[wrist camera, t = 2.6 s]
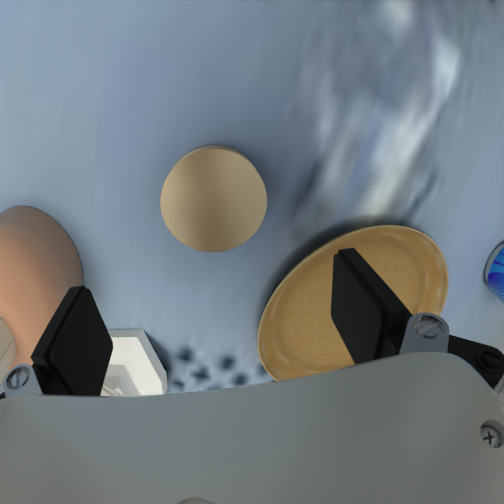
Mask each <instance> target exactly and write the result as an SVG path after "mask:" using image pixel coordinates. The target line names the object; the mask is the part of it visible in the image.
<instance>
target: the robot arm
mask: <svg viewBox="0 0 504 504" xmlns="http://www.w3.org/2000/svg"><path fill="white" fill-rule="evenodd" d="M331 318H332V321H333V323H334V325H335V327H336V328H337V330H338V332H339V334H340V336H341V338H342V340H343V342H344V344H345V346H346V348H347V350H348V352H349V354H350V356H351V357H352V359H353V361H354V363H355V365H351V366H347V367H343V368H339V369H334V370H330V371H325V372H321V373H316V374H311V375H306V376H301V377H296V378H291V379H285V380H280V381H274V382H268V383H262V384H255V385H248V386H241V387H234V388H226V389H217V390H208V391H198V392H187V393H174V394H157V395H134V396H100V395H101V391H102V387H103V383H104V379H105V376H106V372H107V369H108V365H109V362H110V358H111V355H112V351H113V342H112V339H111V337H110V335H109V333H108V331H107V328H106V326H105V324H104V322H103V319H102V317H101V315H100V313H99V310H98V308H97V306H96V303H95V301H94V298H93V296H92V293H91V291H90V290H89V289H86V287H85V286H75V287H70V288H69V290H68V292H67V293H66V295H65V296H64V298H63V300H62V301H61V303H60V305H59V306H58V308H57V310H56V311H55V313H54V315H53V316H52V318H51V320H50V322H49V323H48V325H47V327H46V329H45V330H44V332H43V334H42V336H41V338H40V340H39V341H38V343H37V345H36V347H35V349H34V351H33V353H32V355H31V357H30V358H31V359H32V361H33V365H32V366H31V365H29V364H25V363H23V364H19V365H16V366H14V367H13V368H12V369H10V370H9V372H8V373H7V374H6V376H5V377H4V381H3V388H4V392H3V393H2V394H1V395H0V504H504V355H503V354H502V352H501V351H499V350H498V349H496V348H494V347H492V346H488V345H484V344H481V343H477V342H474V341H470V340H466V339H463V338H459V337H456V336H452V335H449V326H448V324H447V322H446V321H445V320H444V319H443V318H441V317H439V316H438V315H435V314H432V313H426V312H424V313H418V314H415V315H412V313H411V312H410V311H409V310H408V309H407V307H406V306H405V305H404V304H403V303H402V301H401V300H400V299H399V298H398V297H397V296H396V294H395V293H394V292H393V291H392V290H391V289H390V287H389V286H388V285H387V284H386V283H385V282H384V280H383V279H382V278H381V277H380V276H379V275H378V274H377V273H376V272H375V270H374V269H373V268H372V267H371V266H370V265H369V264H368V263H367V261H366V260H365V259H364V258H363V257H362V256H361V255H360V254H359V253H358V252H357V250H356V249H355V248H346V249H340V250H338V254H334V257H333V278H332V296H331Z"/></svg>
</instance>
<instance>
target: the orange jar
mask: <svg viewBox="0 0 504 504" xmlns="http://www.w3.org/2000/svg"><path fill="white" fill-rule="evenodd" d="M75 286H82V267H81V262H80V258H79V255H78V252H77V250H76V248H75V246H74V244H73V242H72V240H71V239H70V237H69V236H68V234H67V233H66V231H65V230H64V229H63V228H62V227H61V226H60V225H59V224H58V223H57V222H56V221H55V220H54V219H53V218H52V217H50V216H49V215H47V214H46V213H44V212H43V211H40V210H38V209H36V208H33V207H28V206H16V207H12V208H9V209H7V210H6V211H4V212H3V213H1V214H0V385H1V383H2V381H3V379H4V377H5V376H6V374H7V373H8V372H9V370H10V369H12V368H13V367H14V366H16V365H19V364H23V363H25V364H29V365H31V366H32V365H33V361H32V359H31V358H30V357H31V355H32V353H33V351H34V349H35V347H36V345H37V343H38V341H39V340H40V338H41V336H42V334H43V332H44V330H45V329H46V327H47V325H48V323H49V322H50V320H51V318H52V316H53V315H54V313H55V311H56V310H57V308H58V306H59V305H60V303H61V301H62V300H63V298H64V296H65V295H66V293H67V292H68V290H69V288H70V287H75Z"/></svg>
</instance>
